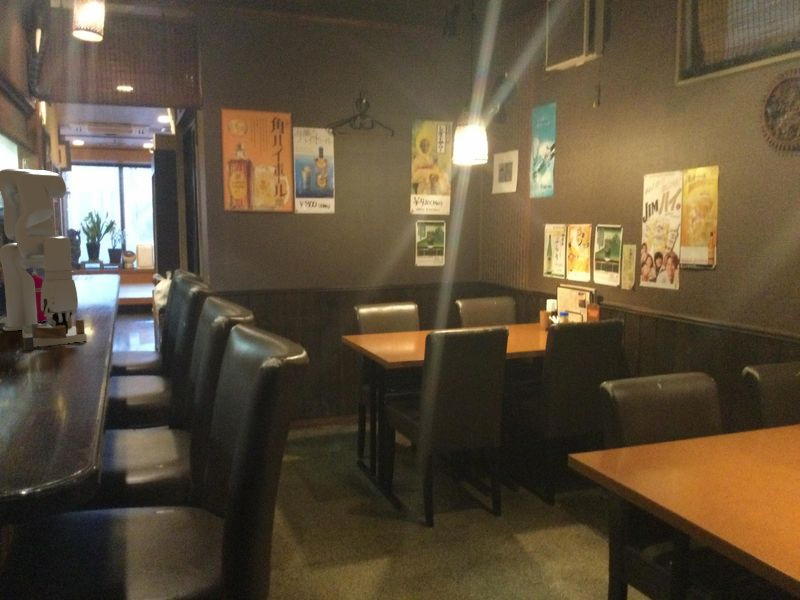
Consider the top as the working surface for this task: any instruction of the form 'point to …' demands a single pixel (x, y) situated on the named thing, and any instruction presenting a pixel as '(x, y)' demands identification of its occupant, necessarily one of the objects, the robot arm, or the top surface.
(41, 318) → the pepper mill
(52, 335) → the hinged leg
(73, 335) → the seat board
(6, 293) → the robot arm
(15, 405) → the top surface
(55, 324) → the leg peg
